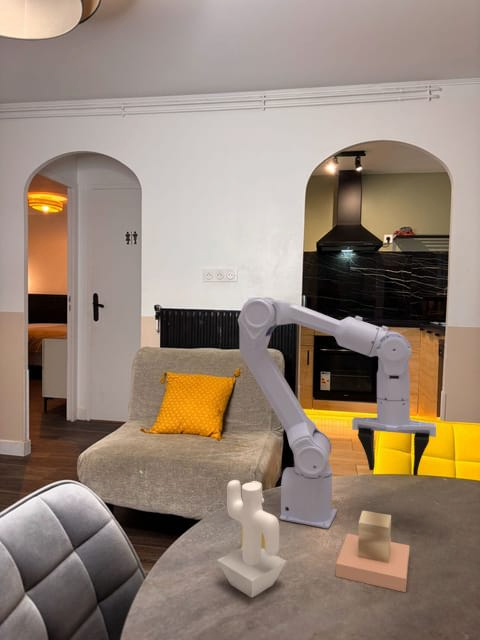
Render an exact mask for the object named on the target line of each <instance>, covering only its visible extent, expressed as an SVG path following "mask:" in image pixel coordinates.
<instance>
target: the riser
mask: <svg viewBox="0 0 480 640" xmlns="http://www.w3.org/2000/svg"><path fill="white" fill-rule="evenodd" d="M340 549H341V550H340V552H339V554H338V557H337V559H336V562H335V563H336V564H335V577H337V578H341V579H344V580H345V579H346V580H349V581H355V582H360V583H363V584H368V585H372V586H376V587H379V588H380V587H381V588H386V589H390V590H393V591H399V592H403V593H406V592H407V582H408V574H409V573H408V571H409V561H410V545H409V544H404V543H398V542H393V541H391V548H390V555H389V561H388V563H385V562H380V561H375V560H370V559H365V558H360V557H358V535H357V534H352V533H347V534H346V536H345V539H344V541H343V544H342V547H341V548H340Z"/></svg>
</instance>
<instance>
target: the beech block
mask: <svg viewBox="0 0 480 640" xmlns="http://www.w3.org/2000/svg"><path fill="white" fill-rule="evenodd" d="M357 533H358V557H360V558H365V559H370V560H375V561H380V562H385V563H388V561H389V555H390V548H391V542H392V539H391V538H392V537H391V536H392V515H391V514H386V513H380V512H374V511H367V510H361V514H360V517H359V519H358V532H357Z"/></svg>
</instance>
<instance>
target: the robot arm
mask: <svg viewBox="0 0 480 640" xmlns="http://www.w3.org/2000/svg"><path fill="white" fill-rule="evenodd" d="M237 323H238V326H239V328H238V329H239V354H240V355H241V357H242V359H243V361H244V363H245V365H247V367H248V369H249V371H250V372H251V374H252V376H253V377H254V379H255V381H256V383H257V384H258V386H259V388H260V390H261V391H262V393H263V395H264V396H265V399H266V400H267V402H268V403H269V405H270V407H271V409H272V410H273V412H274V413H275V415H276V417H277V419H278V420H279V422H280V424H281V425H282V427H283V429H284V431H285V433H286V436H287V440H288V444H289V447H290V449H291V451H292V453H293V461H294V467H285V469H284V470H283V473H282V478H281V482H280V483H281V484H280V515H279V519H280V520H281V521H288V522H292V523H297V524H302V525H308V526H312V527H317V528H323V529H329V528H330V527H331V524H332V523H333V521H334V519H335V516H336V514H337V513H338V511H337V510H338V509H336V508H333V507H332V505H333V503H332V501H333V498H332V496H333V468H332V466H330V461H329V460H330V455H331V452H332V442H331V440H330V438H329V437H328V435H326V434H325V433H324V432H322V431H321V430H319V428H318V427H317V426H316V424H315V423H314V421H312V420H311V419H310V418H309V417H308V415H307V414H306V411H304V409H303V407H302V405H301V404H300V402H299V400H298V398H297V397H296V395H295V394H294V392H293V390H292V388H291V387H290V385H289V383H288V382H287V380H286V378H285V377H284V375H283V372H282V371H281V370H280V368H279V366H278V365H277V363H276V362H275V360H274V358H273V356H272V355H271V353H270V352H269V350H268V346H269V343H270V339H271V336H272V334H273V332H274V330H275V328H276V327H277V326H282V325H289V324H296V325H298V326H302V327H305V328H308V329H311V330H314V331H318V332H320V333H324V334H325V335H326V334H327V335H329V336H333V337H334V338H335V340H336V344H337V345H338V346H340V347H343V348H345V349H349V350H351V351H353V352H357V353H359V354H362V355H365V356H367V357H369V358H372V357H378V360H377V361H378V362H377V363H378V364H377V365H378V369H377V372H376V417H356V416H354V417H353V418H352V430H354V431H358V432H357V437H358V440H359V441H360V443H361V446H362V448H363V451H364V453H365V456H366V459H367V463H368V469H369V471H374V469H375V464H376V463H375V460H376V459H375V450H374V449H375V448H374V447H375V445H374V444H375V443H374V442H375V431H376V432H384V433H385V432H387V433H396V434H399V433H400V434H409V435H414V436H413V457H414V458H413V470H412V471H413V474H412V476H416V477H417V476H418V473H419V466H420V462H421V460H422V456H423V455H424V452H425V451H426V449H427V447H428V444H429V442H430V438H431V437H432V438H436V437H437V424H436V423H431V422H425V421H418V420H412V419H410V418H411V417H410V415H411V414H410V412H411V411H410V410H411V409H410V403H411V401H410V400H411V399H410V396H411V395H410V391H411V390H410V389H411V387H410V386H411V385H410V383H411V381H410V379H411V378H410V375H411V374H410V373H409V369H410V362H409V360H410V359H411V357H412V353H413V350H412V348H411V344H410V342H409V340H408V339H407V338H406V337H405V336H404V335H403V334H402V333H399V332H397V331H395V330H389V327H388V326H385V325H382V327H381V326H378V325H375V324H371V323H368V322H365V321H363V317H361V316H359V315H356V316H355V317H352V316H347V317H345V318H344V319H340V320H339V319H336V318H333V317H331V316H328V315H327V314H326V315H325V314H323V313H321V312H318V311H316V310H313V309H310V308H308V307H305V306H302V305H299V304H297V303H295V302H290V301H286V300H285V301H284V300H277V299H274V298H272V297H258V296H257V297H252V298H250V299H248V300H247V301H246V302H245V303H244V304H243V306H242V308H241V311H240V313H239V316H238V318H237Z"/></svg>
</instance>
